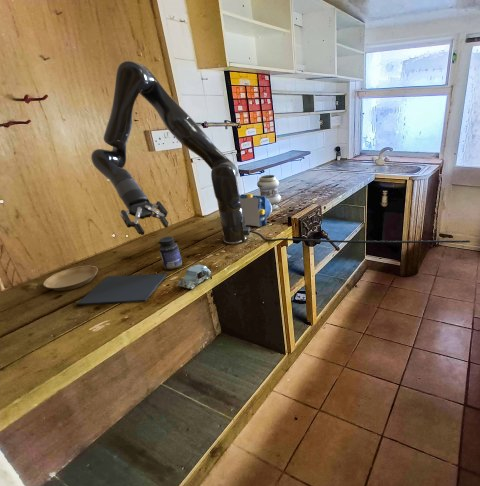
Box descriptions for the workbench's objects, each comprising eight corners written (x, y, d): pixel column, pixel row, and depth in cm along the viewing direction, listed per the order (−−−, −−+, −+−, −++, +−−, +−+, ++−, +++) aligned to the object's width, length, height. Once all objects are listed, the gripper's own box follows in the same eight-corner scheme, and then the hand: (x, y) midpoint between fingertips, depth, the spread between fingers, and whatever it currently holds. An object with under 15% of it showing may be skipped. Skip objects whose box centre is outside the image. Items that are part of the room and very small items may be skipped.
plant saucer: (41, 284, 105) (38, 278, 104) (92, 267, 115) (90, 261, 114) (52, 300, 96) (49, 293, 95) (106, 280, 106) (104, 273, 105)
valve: (261, 227, 146) (260, 195, 142) (235, 224, 151) (233, 193, 147) (276, 222, 158) (275, 192, 154) (251, 219, 163) (249, 190, 159)
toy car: (179, 289, 100) (175, 275, 98) (202, 274, 108) (199, 262, 106) (194, 293, 97) (190, 279, 95) (216, 278, 106) (214, 265, 104)
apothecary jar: (255, 210, 172) (251, 178, 164) (267, 204, 182) (264, 173, 174) (274, 212, 167) (271, 179, 160) (285, 206, 177) (282, 174, 170)
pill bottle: (186, 263, 116) (179, 236, 111) (174, 271, 110) (166, 243, 106) (173, 261, 118) (166, 234, 113) (160, 269, 112) (152, 241, 108)
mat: (166, 274, 109) (166, 273, 108) (145, 301, 94) (145, 299, 94) (108, 278, 108) (107, 276, 107) (77, 305, 93) (76, 303, 93)
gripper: (111, 193, 106) (136, 231, 105) (153, 184, 117) (176, 218, 115) (109, 205, 112) (133, 241, 110) (149, 196, 122) (172, 229, 120)
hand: (155, 230), depth 112 cm, fingers open, 8 cm apart
